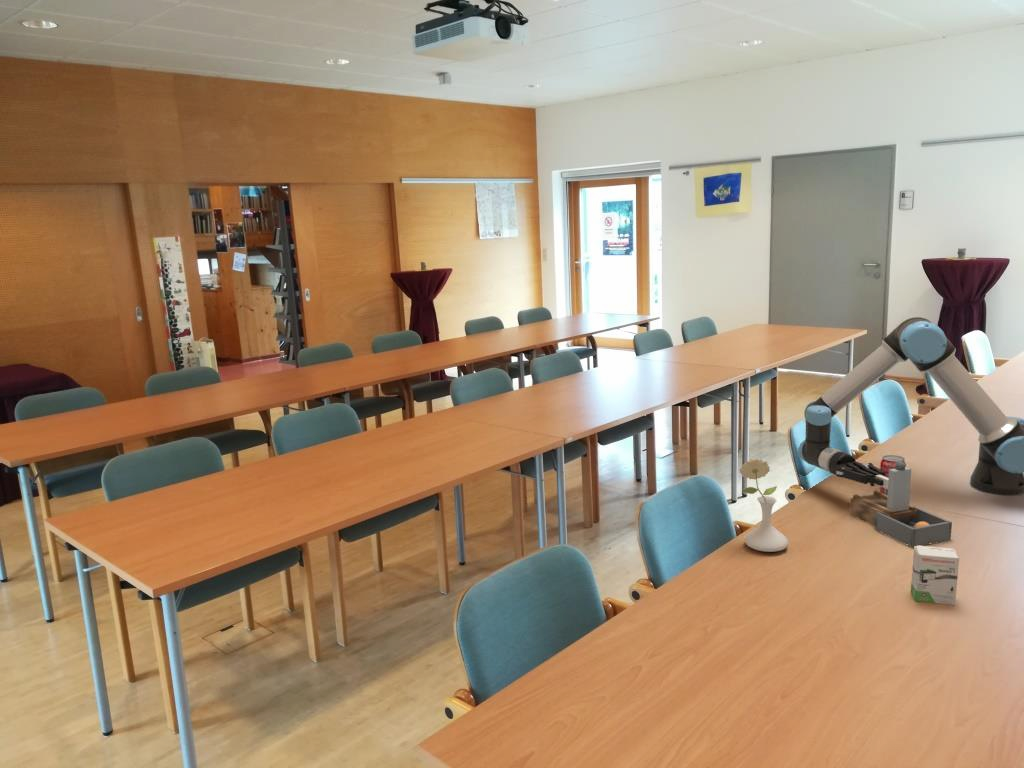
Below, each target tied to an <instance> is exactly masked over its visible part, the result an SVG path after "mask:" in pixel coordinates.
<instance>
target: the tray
mask: <svg viewBox="0 0 1024 768" xmlns="http://www.w3.org/2000/svg"><path fill="white" fill-rule="evenodd" d="M911 506H913V507H916V510H918V514H917V515H915V516H910V517H904V518H899V519H893V518H891V517H889V516H886V515H884V514H882V513H880V512H876V517H875V526H874V529H875V530H876V531H879V532H880V531H881V533H882V532H883V533H882V534H884V535H886V534H887V535H886V536H888V535H889V536H888V537H890V536H891V537H890V538H892V539H894V538H895V539H894V540H896V539H897V541H898V540H899V541H898V542H900V541H901V542H900V543H902V542H903V543H902V544H904V543H905V545H906V544H908V545H909V546H908V545H907V546H908V547H910V546H911V548H914V546H919V545H922V546H925V544H927V545H930V544H929V543H932V544H937V543H941V541H942V542H948V541H950V540H952V538H951V537H952V527H953V525H952V524H953V522H952V521H949V520H947V519H945V518H943V517H941V516H938V515H936V514H933V513H931V512H929V511H926V510H924V509H922V508H920V507H917V506H915V505H912V504H911ZM922 521H923V522H927V523H928V524H930V525H927V526H921V527H916V528H914V526H915V524H916V523H918V522H922ZM936 542H937V543H936Z"/></svg>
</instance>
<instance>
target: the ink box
mask: <svg viewBox="0 0 1024 768" xmlns="http://www.w3.org/2000/svg"><path fill="white" fill-rule="evenodd" d="M959 562H960V557H959V555H958V552H957V551H956V550H955V549H954V548H949V547H939V546H938V547H937V546H928V545H926V546H925V545H922V546H915V547H913V558H912V571H911V572H912V573H911V582H910V593H911V596H912V598H913V600H914V601H915V602H922V603H923V602H925V603H933V604H939V605H940V604H941V605H942V604H943V605H951V606H955V605H956V600H957V599H956V598H957V586H958V578H959V577H958V575H959V565H960V563H959Z"/></svg>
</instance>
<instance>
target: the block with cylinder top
mask: <svg viewBox="0 0 1024 768" xmlns="http://www.w3.org/2000/svg"><path fill="white" fill-rule="evenodd" d="M905 463H906V462H903V461H896V468H895V469H889V479H888V497H887V508H888V509H890V510H892V511H894V512H897V511H902V510H908V509H909V505H910V501H911V500H910V498H911V482H912V481H911V480H912V468H910V467H907V466H906V467H905Z"/></svg>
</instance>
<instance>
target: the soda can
mask: <svg viewBox="0 0 1024 768" xmlns="http://www.w3.org/2000/svg"><path fill="white" fill-rule="evenodd" d="M881 458H882V459H881V461H880V468H879V469H880V470H882V471H883V472H885V477H887V478H889V469H895V468H896V461H903V462H905V457H903V456H901V455H894V454H887V455H882V457H881ZM905 467H907V462H905ZM878 492H881V493H883V494H885V495H888V489H886V488H883V487H881V486H879V490H878Z"/></svg>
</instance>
